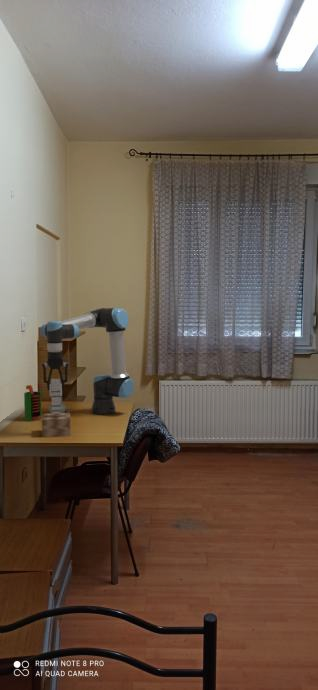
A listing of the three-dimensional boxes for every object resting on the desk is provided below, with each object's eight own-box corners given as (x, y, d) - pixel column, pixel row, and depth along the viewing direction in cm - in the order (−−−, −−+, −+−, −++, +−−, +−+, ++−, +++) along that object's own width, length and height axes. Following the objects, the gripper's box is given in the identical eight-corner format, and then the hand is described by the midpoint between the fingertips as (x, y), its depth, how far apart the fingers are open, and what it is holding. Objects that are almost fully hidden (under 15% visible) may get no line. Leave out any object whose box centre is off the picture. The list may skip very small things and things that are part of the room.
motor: (35, 421, 296) (35, 387, 294) (21, 421, 298) (20, 386, 296) (43, 417, 306) (42, 384, 304) (29, 417, 308) (28, 384, 306)
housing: (70, 429, 278) (70, 410, 277) (70, 435, 264) (69, 416, 263) (43, 430, 276) (43, 411, 275) (42, 437, 262) (41, 417, 261)
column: (61, 416, 272) (60, 378, 270) (60, 418, 267) (60, 379, 266) (52, 416, 271) (51, 378, 269) (51, 418, 266) (50, 380, 265)
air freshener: (68, 412, 321) (67, 396, 321) (64, 415, 313) (64, 398, 312) (51, 411, 322) (50, 396, 322) (46, 414, 314) (46, 398, 313)
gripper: (72, 350, 271) (73, 394, 273) (37, 350, 268) (38, 395, 270) (72, 351, 264) (73, 396, 266) (36, 352, 261) (38, 397, 263)
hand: (55, 395), depth 268 cm, fingers open, 5 cm apart
